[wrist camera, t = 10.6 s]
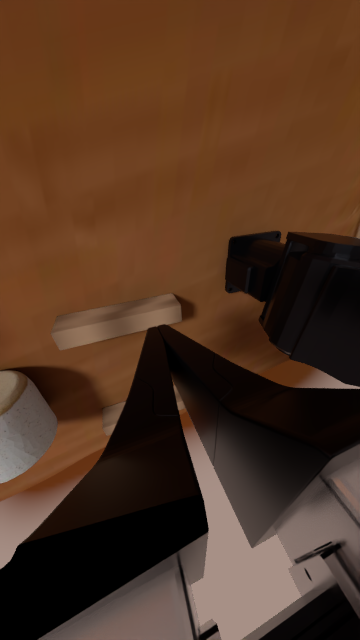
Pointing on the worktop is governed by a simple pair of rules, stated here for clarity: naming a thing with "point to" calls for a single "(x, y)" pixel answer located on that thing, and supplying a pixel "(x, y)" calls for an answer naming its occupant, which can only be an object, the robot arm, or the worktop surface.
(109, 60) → the worktop surface
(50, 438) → the ceramic mug
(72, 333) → the mug dock
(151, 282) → the worktop surface
